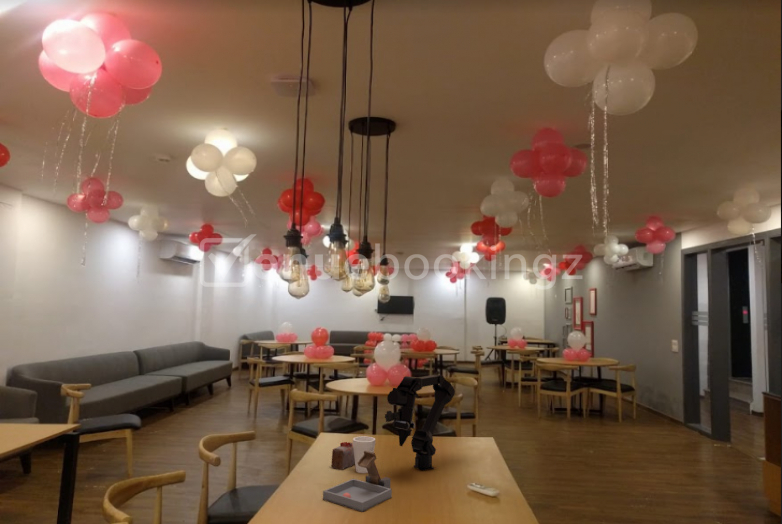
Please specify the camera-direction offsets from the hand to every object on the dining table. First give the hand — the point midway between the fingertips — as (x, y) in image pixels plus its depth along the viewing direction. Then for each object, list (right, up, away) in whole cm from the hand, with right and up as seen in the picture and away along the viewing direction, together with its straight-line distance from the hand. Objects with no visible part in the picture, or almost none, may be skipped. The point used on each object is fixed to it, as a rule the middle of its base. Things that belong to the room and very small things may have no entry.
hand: (400, 446), depth 217 cm
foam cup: (-16, -12, +5) cm, 21 cm away
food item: (-24, -13, +12) cm, 30 cm away
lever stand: (-9, -11, -16) cm, 21 cm away
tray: (-16, -10, -26) cm, 32 cm away
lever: (-9, -10, -16) cm, 21 cm away
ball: (-20, -7, -31) cm, 37 cm away
